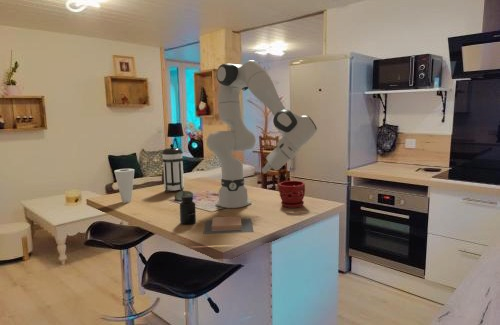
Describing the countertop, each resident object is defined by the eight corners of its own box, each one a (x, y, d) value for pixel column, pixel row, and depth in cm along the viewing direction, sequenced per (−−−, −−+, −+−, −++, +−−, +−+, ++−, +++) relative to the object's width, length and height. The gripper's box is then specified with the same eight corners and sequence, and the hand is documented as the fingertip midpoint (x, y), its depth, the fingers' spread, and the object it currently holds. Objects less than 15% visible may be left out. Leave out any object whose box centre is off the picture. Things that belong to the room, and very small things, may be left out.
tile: (240, 220, 150) (213, 221, 149) (240, 216, 149) (213, 217, 149) (241, 229, 138) (211, 230, 137) (241, 225, 138) (211, 226, 137)
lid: (194, 197, 199) (193, 188, 199) (192, 201, 190) (191, 192, 189) (175, 197, 199) (175, 189, 198) (173, 201, 189) (172, 193, 188)
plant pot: (281, 202, 183) (281, 180, 181) (306, 203, 179) (306, 180, 178) (276, 208, 170) (276, 185, 169) (303, 209, 167) (303, 185, 165)
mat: (206, 221, 152) (206, 220, 152) (251, 219, 153) (251, 218, 153) (203, 235, 134) (203, 233, 134) (253, 233, 135) (253, 231, 135)
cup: (113, 204, 187) (110, 171, 184) (122, 199, 197) (120, 168, 195) (131, 204, 186) (129, 171, 183) (139, 199, 196) (137, 168, 194)
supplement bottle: (193, 225, 147) (191, 198, 145) (178, 224, 148) (176, 198, 146) (198, 220, 154) (197, 194, 152) (183, 220, 155) (182, 194, 153)
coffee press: (156, 192, 215) (153, 144, 211) (176, 187, 227) (174, 142, 223) (173, 195, 204) (170, 145, 200) (193, 190, 216) (191, 143, 212)
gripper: (277, 141, 153) (255, 162, 154) (284, 146, 133) (259, 171, 134) (287, 150, 154) (265, 172, 155) (295, 157, 134) (270, 182, 135)
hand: (262, 172), depth 145 cm, fingers closed
